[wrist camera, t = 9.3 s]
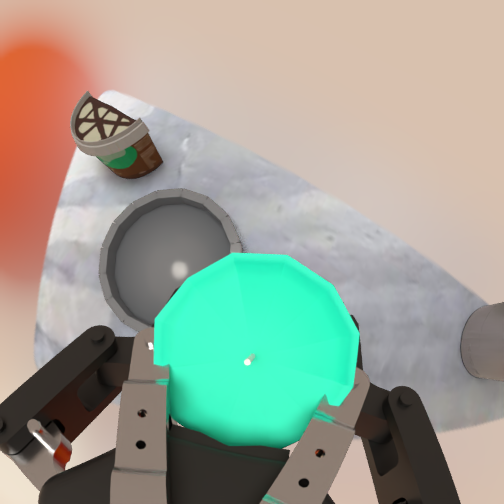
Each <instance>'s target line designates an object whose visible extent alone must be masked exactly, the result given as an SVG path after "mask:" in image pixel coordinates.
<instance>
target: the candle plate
mask: <svg viewBox="0 0 504 504" xmlns="http://www.w3.org/2000/svg"><path fill="white" fill-rule="evenodd" d="M102 247H104V248H101V253H100V263H99V274H100V275H99V279H100V283H101V286H102V290H103V294H104V297H105V300H106V302H107V304H108V305H109V306H110V308H111V309H112V310H113V312H114V313H115V314H116V316H117V317H118V318H119V319H120V321H121V322H123V324H125V325H127V326H129V327H131V328H133V329H134V330H136V331H138V332H140V331H141V330H143V329H146V328H151V327H152V325H153V324H154V322H155V318H156V317H157V315H158V314H159V313H160V312H161V310H162V309H163V308H164V306H165V305H166V303H167V302H168V300H169V299H170V297H171V295H172V294H173V292H174V291H175V289H177V288H178V287H180V286H181V285H182V284H183V283H184V282H185V281H186V279H187V278H189V277H190V276H192V275H194V274H196V273H197V272H199V271H201V270H203V269H204V268H206V267H208V266H210V265H212V264H213V263H215V262H217V261H219V260H220V259H222V258H224V257H226V256H228V255H229V254H231V253H242V245H241V242H240V240H239V237H238V235H237V233H236V231H235V228H234V226H233V224H232V221H231V219H230V217H229V215H228V214H227V213H226V212H225V211H224V210H223V209H222V208H220V207H219V206H218V205H217V204H216V203H215V202H214V201H213V200H212V199H210V198H209V197H208V196H205V195H202V194H199V193H196V192H193V191H190V190H187V189H182V188H180V189H168V190H157V192H156V191H154V192H152V193H150V194H148V195H146V196H144V197H142V198H140V199H138V200H136V201H134V202H133V204H132V203H131V204H130V205H129V206H128V207H127V208H126V209H125V210H124V211H123V212H122V213H121V214H120V215H119V216H118V217H117V218H116V219H115V220H114V223H112V225H111V227H110V229H109V231H108V233H107V235H106V238H105V240H104V242H103V244H102Z"/></svg>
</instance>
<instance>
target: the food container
mask: <svg viewBox="0 0 504 504" xmlns="http://www.w3.org/2000/svg"><path fill="white" fill-rule="evenodd" d="M70 125H71V126H70V127H71V133H72V136H73V138H74V140H75V142H76V144H77V146H78V148H79V149H80V150H81V151H82V152H84V153H85V154H87V155H91V156H96V157H97V158H98V159H99V160H100V161H102V162H103V163H104V164H105V165H106V166H107V167H108V168H110V169H111V170H112V171H113V172H114V173H115V174H116V175H118V176H120V177H122V178H126V179H134V178H139V177H142V176H145V175H147V174H149V173H150V172H152V171H154V170H155V169H156V168H157V167H159V166H160V165H161V164H162V163H163V161H162V159H161V157H160V155H159V153H158V151H157V149H156V147H155V145H154V143H153V142H152V140H151V138H150V136H149V134H148V132H149V129H148V128H147V126H146V125H145V124H144V122H142V120H141V119H140V118H139V119H138V120H134V119H132V118H130V117H129V116H127V115H125V114H124V113H122V112H120V111H119V110H117V109H115V108H114V107H112V106H110V105H108V104H105V103H103V102H101V101H99V100H97V99H95V98H93V97H92V96H91V95H90V93H89V92H88V91H87V92H86V93H85V94H84V95H83V96H82V98H81V99H80V100H79V102H78V103H77V105H76V107H75V108H74V111H73V113H72V116H71V121H70Z"/></svg>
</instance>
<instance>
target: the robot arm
mask: <svg viewBox="0 0 504 504" xmlns="http://www.w3.org/2000/svg"><path fill="white" fill-rule="evenodd" d="M181 286H182V285H181ZM181 286H180V287H181ZM180 287H178V288H177V289H175V291H174V292H173V294H172V295H171V297H170V299H171V298H172V297H173V295H174V294H175V293H176V292H177V290H178V289H179V288H180ZM170 299H169V300H170ZM169 300H168V302H169ZM168 302H167V303H168ZM167 303H166V304H167ZM164 307H165V306H164ZM350 316H351V318H352V320H353V322H354V324H355V326H356V328H357V329H358V331H359V325H358V323H357V321H356V320H355V318H354V316H353V315H350ZM154 324H155V322H154ZM154 324H153V325H152V327H151V328H146V329H143V330H141V331H140V332H139V333H138V334H137V335H136V336H135V337H115V335H114V332H113V331H112V329H110V328H109V327H107V326H102V325H99V326H94V327H91V328H89V329H88V330H86V331H85V332H84V333H83V334H81V335H80V336H79V337H78V338H76V339H75V340H74V341H73V342H72V343H70V344H69V345H68V346H67V347H66V348H64V349H63V350H62V351H61V352H60V353H58V354H57V355H56V356H55V357H54V358H53V359H51V360H50V361H49V362H48V363H47V364H45V365H44V366H43V367H42V368H41V369H40V370H38V371H37V372H36V373H35V374H34V375H33V376H32V377H30V378H29V379H28V380H27V381H26V382H25V383H24V384H22V385H21V386H20V387H19V388H18V389H17V390H16V391H14V392H13V393H12V394H11V395H10V396H9V397H8V398H7V399H5V400H4V401H3V402H2V403H1V404H0V450H1V451H2V452H3V453H4V454H5V455H6V456H7V457H9V458H10V459H11V460H12V461H14V463H15V464H16V465H17V466H18V467H19V469H20V470H21V471H22V472H23V473H24V475H25V476H26V477H27V478H28V479H29V480H30V481H31V482H32V484H33V485H34V486H35V487H36V488H37V489H38V490H39V491H40V494H39V500H38V503H39V504H335V503H334V502H333V500H332V499H331V497H330V496H329V494H328V491H329V489H330V487H331V485H332V483H333V481H334V478H335V477H336V474H337V472H338V470H339V468H340V466H341V464H342V462H343V459H344V457H345V455H346V453H347V451H348V448H349V446H350V444H351V441H352V439H353V436H354V434H355V435H358V436H360V437H361V439H362V442H363V446H364V449H365V453H366V456H367V460H368V464H369V468H370V471H371V475H372V479H373V483H374V486H375V491H376V495H377V498H378V502H379V504H461V503H460V500H459V497H458V494H457V491H456V488H455V485H454V482H453V480H452V476H451V473H450V471H449V468H448V465H447V462H446V460H445V457H444V454H443V452H442V449H441V447H440V444H439V442H438V439H437V437H436V434H435V432H434V429H433V427H432V424H431V422H430V420H429V417H428V415H427V413H426V410H425V408H424V406H423V403H422V401H421V399H420V397H419V395H418V394H417V393H416V392H415V391H414V390H413V389H411V388H409V387H406V386H398V387H395V388H394V389H392V390H391V392H390V391H387V390H385V389H382V388H380V387H377V386H375V385H373V384H372V383H371V382H370V381H369V378H368V376H367V374H366V373H365V372H364V371H363V366H362V355H361V344H360V335H359V345H358V354H357V362H356V370H355V377H354V385H353V388H352V389H351V391H350V392H349V394H348V395H347V396H346V398H345V399H344V400H343V402H342V403H341V404H340V406H334V405H329V403H328V399H327V396H326V394H324V396H323V398H322V400H321V402H320V404H319V406H318V408H317V410H316V412H315V414H314V415H313V417H312V419H311V421H310V423H309V425H308V426H307V428H306V430H305V432H304V434H303V435H302V437H301V439H300V441H299V442H298V444H297V446H296V447H295V449H294V451H293V452H292V454H291V456H290V457H289V452H290V450H286V449H279V448H273V447H267V446H261V445H259V446H228V445H225V444H223V443H221V442H219V441H217V440H215V439H213V438H211V437H209V436H207V435H205V434H203V433H201V432H199V431H195V430H191V429H188V428H185V427H181V426H178V425H177V422H176V421H175V420H173V419H172V414H171V398H170V365H169V364H168V365H165V366H160V365H156V364H154ZM461 355H462V359H463V363H464V365H465V367H466V369H467V370H468V372H469V373H470V374H472V375H473V376H475V377H478V378H484V379H491V380H498V381H504V302H502V303H498V304H493V305H488V306H484V307H481V308H479V309H478V310H476V311H475V312H474V313H473V314H472V315H471V317H470V318H469V320H468V321H467V323H466V325H465V328H464V331H463V335H462V340H461ZM121 391H122V393H121V401H120V411H119V420H118V429H117V430H118V431H117V441H116V448H114V449H112V450H110V451H108V452H106V453H104V454H102V455H100V456H97V457H95V458H93V459H91V460H89V461H86V462H84V463H82V464H80V465H77V466H75V467H73V468H71V469H68V470H65V466H66V463H67V462H69V461H70V457H71V454H72V446H71V443H72V442H73V441H74V440H75V439H76V438H77V437H78V436H79V435H80V433H82V431H83V430H84V429H85V428H86V427H87V426H88V425H89V424H90V423H91V422H92V421H93V420H94V419H95V418H96V417H97V416H98V415H99V414H100V413H101V412H102V411H103V410H104V409H105V408H106V407H107V406H108V405H109V404H110V403H111V402H112V401H113V400H114V398H115V397H116V396H117V395H118V394H119V393H120V392H121Z"/></svg>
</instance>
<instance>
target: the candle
mask: <svg viewBox="0 0 504 504" xmlns="http://www.w3.org/2000/svg"><path fill="white" fill-rule="evenodd" d="M359 335H360V333H359V331H358V329H357V328H356V326H355V324H354V322H353V320H352V318H351V316H350V314H349V313H348V311H347V309H346V307H345V305H344V303H343V302H342V300H341V298H340V296H339V294H338V293H337V291H336V289H335V287H334V285H332V284H331V283H329V282H328V281H326V280H325V279H323V278H322V277H320V276H319V275H317V274H316V273H314V272H313V271H311V270H310V269H308V268H307V267H305V266H303V265H302V264H300V263H299V262H297V261H296V260H294V259H293V258H291V257H290V256H288V255H276V254H253V253H231V254H229V255H228V256H226V257H224V258H222V259H220V260H219V261H217V262H215V263H213V264H212V265H210V266H208V267H206V268H204V269H203V270H201V271H199V272H197V273H196V274H194V275H192V276H190V277H189V278H187V279H186V281H185V282H184V283H183V284H182V286H181V287H180V288H179V289H178V290H177V292H176V293H175V294H174V295H173V297H172V298H171V299H170V300H169V302H168V303H167V304H166V305H165V307H164V308H163V309H162V310H161V312H160V313H159V314H158V315H157V317H156V318H155V324H154V364H156V365H160V366H165V365H168V364H169V365H170V398H171V414H172V419H173V420H175V421H176V422H178V423H179V424H181V425H182V426H184V427H185V428H188V429H191V430H195V431H199V432H201V433H203V434H205V435H207V436H209V437H211V438H213V439H215V440H217V441H219V442H221V443H223V444H225V445H228V446H259V445H261V446H267V447H273V448H279V449H282V448H284V447H287V446H289V445H291V444H293V443H295V442H297V441H299V440H300V439H301V437H302V435H303V434H304V432H305V430H306V428H307V426H308V425H309V423H310V421H311V419H312V417H313V415H314V414H315V412H316V410H317V408H318V406H319V404H320V402H321V400H322V398H323V396H324V394H326V396H327V399H328V403H329V405H334V406H340V404H341V403H342V402H343V400H344V399H345V398H346V396H347V395H348V394H349V392H350V391H351V389H352V388H353V385H354V377H355V370H356V362H357V354H358V345H359Z"/></svg>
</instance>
